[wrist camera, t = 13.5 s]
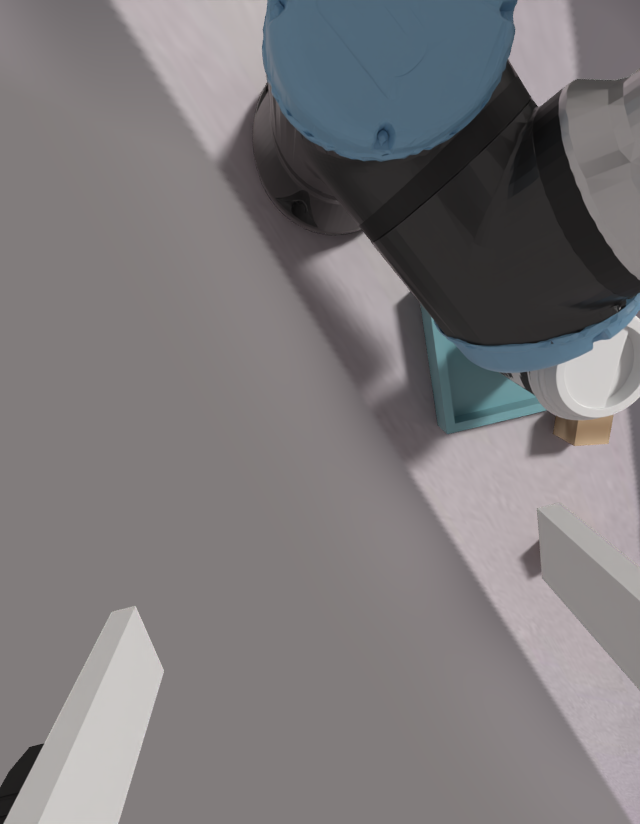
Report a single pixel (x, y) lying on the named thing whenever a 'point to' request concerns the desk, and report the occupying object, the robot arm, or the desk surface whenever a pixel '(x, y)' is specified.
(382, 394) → the desk surface
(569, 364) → the coffee cup
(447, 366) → the tray
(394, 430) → the desk surface
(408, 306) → the desk surface
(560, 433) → the maple block
